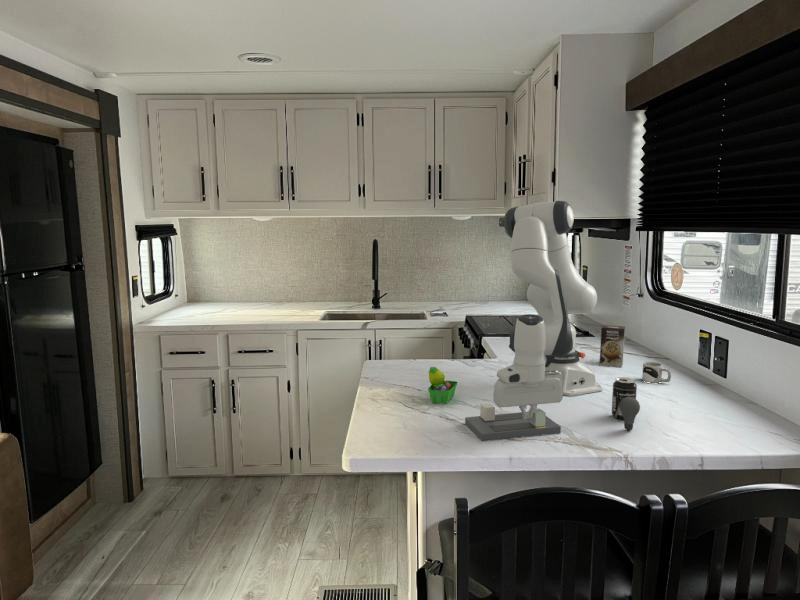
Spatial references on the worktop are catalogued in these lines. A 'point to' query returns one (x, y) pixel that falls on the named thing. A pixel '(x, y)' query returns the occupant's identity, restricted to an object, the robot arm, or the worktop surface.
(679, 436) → the worktop surface
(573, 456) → the worktop surface
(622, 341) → the coffee box
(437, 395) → the fruit basket
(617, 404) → the beverage can
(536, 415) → the sage tab
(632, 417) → the light bulb
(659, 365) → the mug
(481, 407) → the cream tab
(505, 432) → the switch panel
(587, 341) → the worktop surface
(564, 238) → the robot arm
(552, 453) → the worktop surface
